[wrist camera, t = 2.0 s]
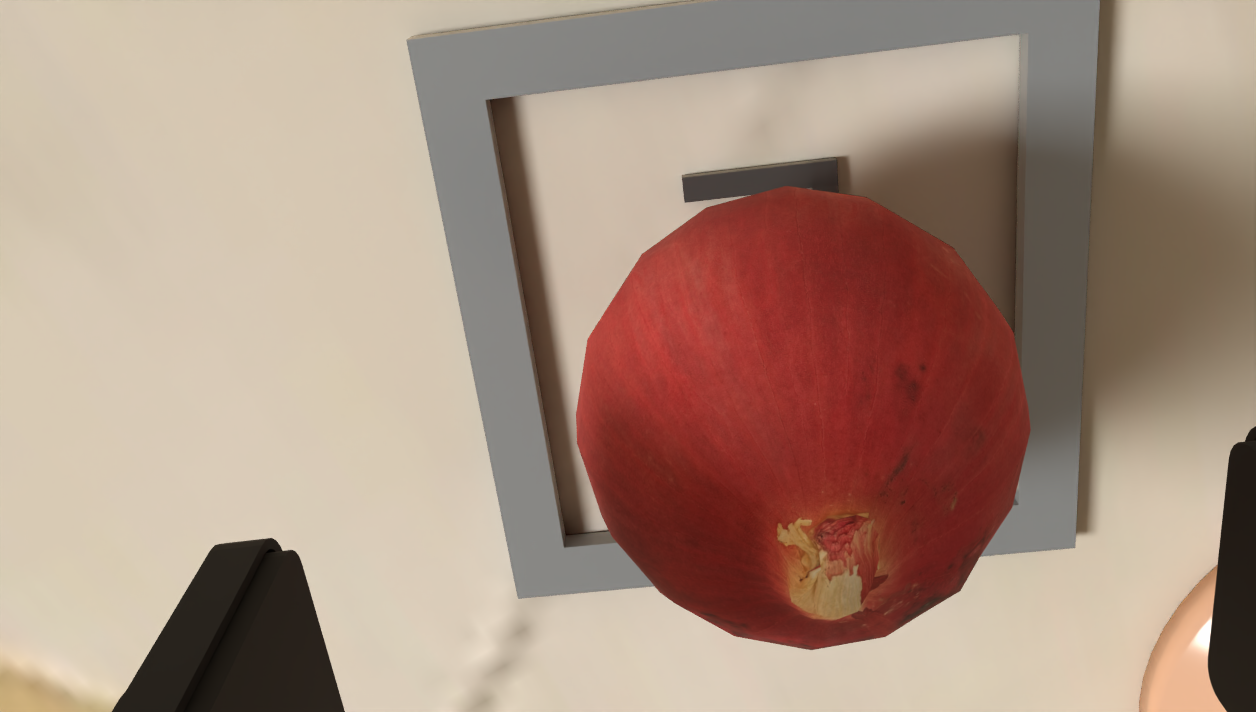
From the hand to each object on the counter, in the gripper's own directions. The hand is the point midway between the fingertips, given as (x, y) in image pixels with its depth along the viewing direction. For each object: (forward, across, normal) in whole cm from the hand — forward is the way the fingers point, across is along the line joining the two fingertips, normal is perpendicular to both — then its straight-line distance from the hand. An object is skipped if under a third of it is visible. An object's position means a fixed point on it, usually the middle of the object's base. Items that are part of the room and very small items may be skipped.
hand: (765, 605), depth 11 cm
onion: (+8, -1, 0) cm, 8 cm away
